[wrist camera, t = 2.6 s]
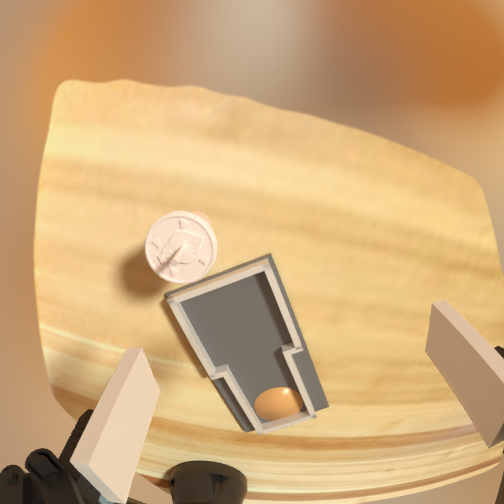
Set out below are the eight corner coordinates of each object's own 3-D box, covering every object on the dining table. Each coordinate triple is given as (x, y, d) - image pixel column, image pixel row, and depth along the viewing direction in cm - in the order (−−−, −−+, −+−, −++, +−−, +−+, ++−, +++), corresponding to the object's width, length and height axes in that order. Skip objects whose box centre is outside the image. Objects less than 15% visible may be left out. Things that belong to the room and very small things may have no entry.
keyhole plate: (245, 429, 45) (246, 438, 43) (166, 292, 38) (162, 299, 36) (328, 404, 44) (331, 413, 41) (270, 253, 37) (272, 258, 35)
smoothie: (233, 239, 36) (227, 284, 23) (185, 263, 37) (155, 319, 23) (207, 189, 34) (183, 205, 21) (158, 216, 35) (111, 247, 22)
